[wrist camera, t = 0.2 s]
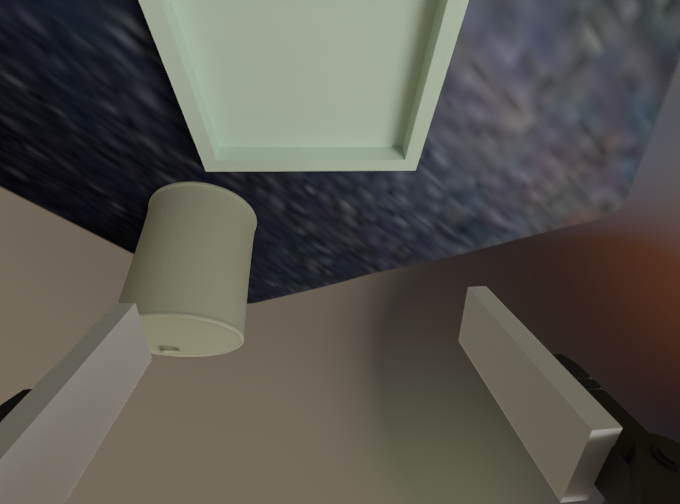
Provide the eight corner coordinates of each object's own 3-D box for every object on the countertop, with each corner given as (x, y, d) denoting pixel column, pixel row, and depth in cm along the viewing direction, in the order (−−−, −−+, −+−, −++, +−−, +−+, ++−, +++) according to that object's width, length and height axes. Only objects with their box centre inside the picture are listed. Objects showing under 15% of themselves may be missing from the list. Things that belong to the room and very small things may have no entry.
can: (142, 228, 32) (100, 356, 25) (158, 164, 25) (108, 313, 19) (238, 253, 36) (223, 367, 30) (272, 203, 30) (263, 335, 23)
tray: (92, -178, 12) (71, -169, 11) (496, -154, 13) (513, -143, 12) (210, 152, 25) (205, 171, 24) (411, 152, 26) (415, 170, 25)
